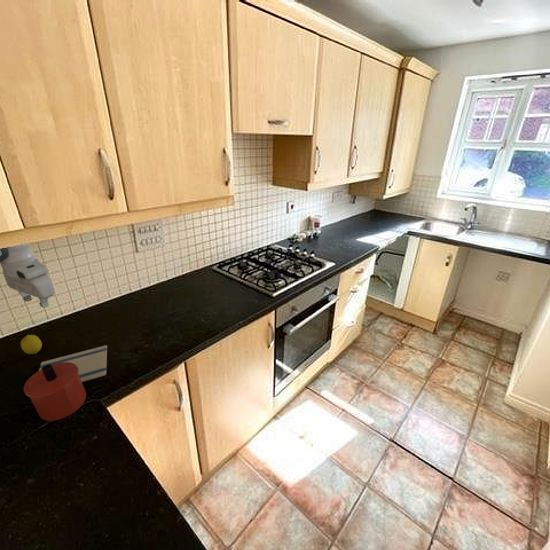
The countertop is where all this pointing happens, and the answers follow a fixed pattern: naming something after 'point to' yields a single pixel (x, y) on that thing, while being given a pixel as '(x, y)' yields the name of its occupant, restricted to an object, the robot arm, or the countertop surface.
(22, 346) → the lemon
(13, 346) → the countertop surface
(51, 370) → the pot lid
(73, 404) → the pot
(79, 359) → the towel
